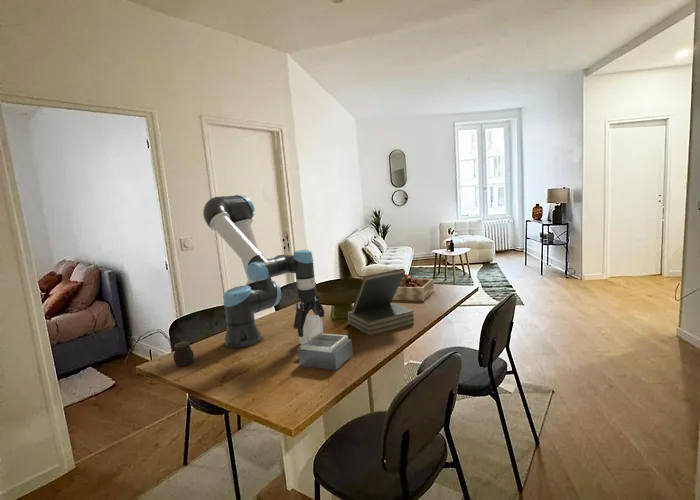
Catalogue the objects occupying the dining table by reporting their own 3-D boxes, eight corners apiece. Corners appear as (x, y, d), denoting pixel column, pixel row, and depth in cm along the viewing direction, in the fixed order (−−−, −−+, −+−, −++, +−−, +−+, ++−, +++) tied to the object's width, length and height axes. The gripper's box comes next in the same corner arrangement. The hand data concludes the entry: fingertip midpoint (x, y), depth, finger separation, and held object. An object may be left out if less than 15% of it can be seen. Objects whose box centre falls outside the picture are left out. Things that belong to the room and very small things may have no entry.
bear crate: (386, 299, 217) (385, 287, 216) (399, 289, 236) (398, 278, 235) (423, 300, 208) (423, 287, 207) (433, 290, 226) (433, 278, 225)
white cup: (318, 344, 159) (316, 320, 158) (300, 344, 161) (297, 320, 160) (323, 337, 167) (321, 314, 166) (306, 337, 169) (303, 314, 167)
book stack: (390, 314, 191) (386, 263, 188) (414, 324, 174) (410, 268, 170) (348, 324, 181) (343, 271, 178) (369, 336, 164) (364, 277, 160)
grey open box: (290, 364, 142) (287, 344, 141) (309, 350, 154) (307, 331, 153) (336, 370, 134) (334, 349, 133) (353, 355, 145) (351, 335, 144)
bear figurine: (406, 299, 214) (404, 277, 212) (398, 293, 229) (397, 272, 227) (430, 296, 216) (428, 274, 214) (421, 290, 231) (419, 270, 229)
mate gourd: (179, 360, 155) (176, 336, 154) (198, 359, 155) (195, 335, 154) (170, 368, 148) (167, 343, 147) (190, 367, 148) (187, 341, 146)
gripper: (297, 296, 148) (303, 349, 151) (329, 281, 170) (334, 328, 173) (280, 295, 152) (287, 348, 155) (314, 280, 174) (319, 327, 177)
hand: (311, 337), depth 164 cm, fingers open, 13 cm apart
